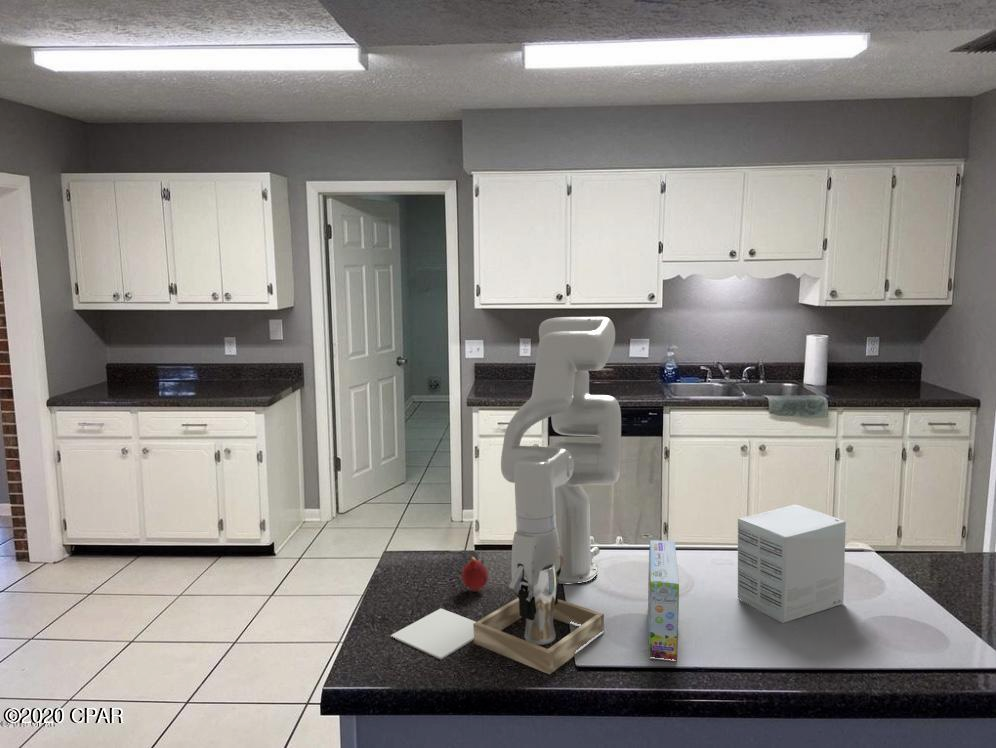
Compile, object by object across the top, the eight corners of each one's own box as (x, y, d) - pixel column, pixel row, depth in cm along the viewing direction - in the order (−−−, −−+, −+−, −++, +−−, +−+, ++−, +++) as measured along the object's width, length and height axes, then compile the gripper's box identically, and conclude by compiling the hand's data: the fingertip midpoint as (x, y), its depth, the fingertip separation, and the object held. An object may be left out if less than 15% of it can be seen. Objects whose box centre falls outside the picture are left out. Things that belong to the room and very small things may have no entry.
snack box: (680, 663, 128) (680, 583, 126) (648, 660, 129) (647, 582, 127) (675, 608, 149) (675, 539, 146) (648, 606, 150) (647, 538, 148)
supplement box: (793, 581, 159) (795, 502, 157) (845, 604, 147) (848, 520, 145) (734, 598, 152) (735, 517, 149) (783, 625, 140) (785, 537, 137)
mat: (440, 610, 152) (440, 608, 152) (490, 629, 143) (490, 627, 143) (390, 636, 141) (390, 635, 141) (441, 659, 132) (441, 657, 132)
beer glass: (564, 633, 140) (562, 560, 138) (547, 650, 134) (544, 574, 132) (533, 625, 144) (530, 554, 141) (515, 640, 138) (512, 567, 136)
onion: (492, 588, 161) (491, 554, 160) (481, 598, 156) (480, 564, 155) (469, 584, 164) (468, 551, 163) (458, 594, 159) (456, 560, 158)
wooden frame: (531, 607, 151) (530, 590, 150) (604, 633, 139) (603, 613, 139) (474, 643, 138) (473, 623, 137) (549, 674, 126) (548, 653, 125)
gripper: (547, 505, 144) (549, 588, 147) (491, 531, 131) (495, 622, 134) (578, 512, 139) (580, 598, 142) (523, 540, 126) (526, 634, 129)
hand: (539, 609), depth 138 cm, fingers closed on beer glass, 6 cm apart
